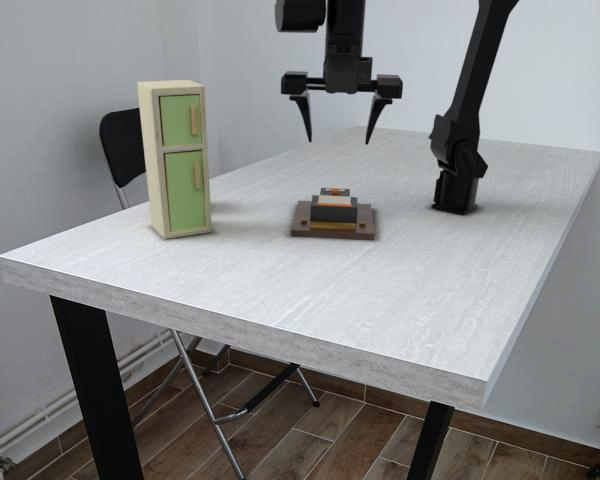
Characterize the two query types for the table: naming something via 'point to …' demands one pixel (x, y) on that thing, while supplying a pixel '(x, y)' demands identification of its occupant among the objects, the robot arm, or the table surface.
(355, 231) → the stand
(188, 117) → the toy refrigerator
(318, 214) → the penguin
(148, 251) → the table surface
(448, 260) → the table surface
